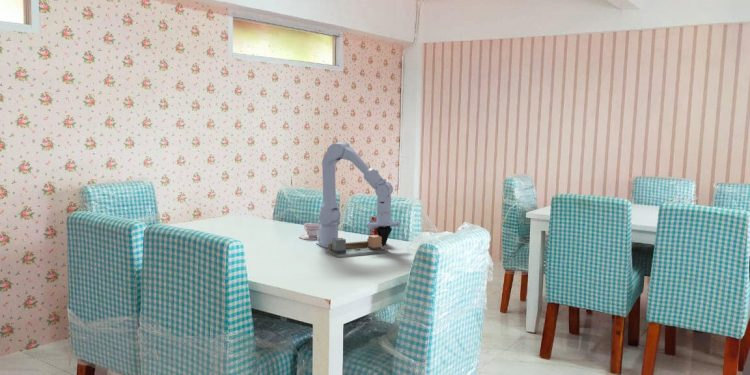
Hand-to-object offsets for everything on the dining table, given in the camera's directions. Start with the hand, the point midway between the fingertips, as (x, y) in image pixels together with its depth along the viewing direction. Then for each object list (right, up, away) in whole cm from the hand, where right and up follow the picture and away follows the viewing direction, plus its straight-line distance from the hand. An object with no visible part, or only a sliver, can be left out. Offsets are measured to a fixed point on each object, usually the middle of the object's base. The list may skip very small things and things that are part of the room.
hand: (383, 244), depth 263 cm
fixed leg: (-19, -2, -8) cm, 20 cm away
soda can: (-2, -1, +14) cm, 14 cm away
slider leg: (-4, -1, 0) cm, 4 cm away
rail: (-13, -2, -1) cm, 13 cm away
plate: (-11, -3, -5) cm, 12 cm away
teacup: (-32, +1, +26) cm, 41 cm away
